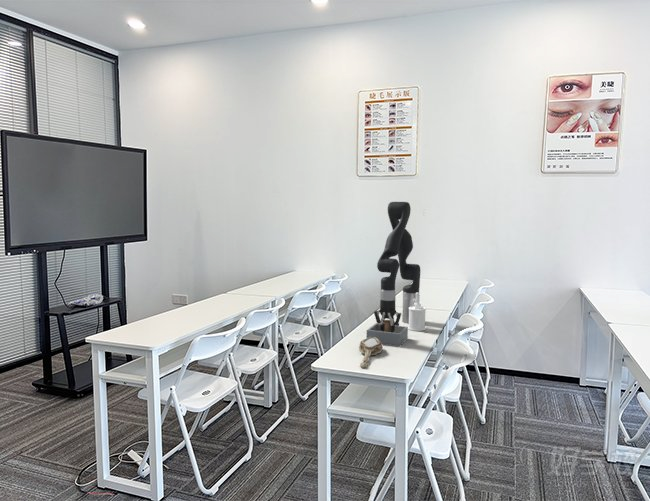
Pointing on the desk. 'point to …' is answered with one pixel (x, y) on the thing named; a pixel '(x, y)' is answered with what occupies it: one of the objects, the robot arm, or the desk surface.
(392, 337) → the grey open box
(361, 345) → the hand mirror
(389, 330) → the peg
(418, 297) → the white cylindrical bottle
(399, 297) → the desk surface
